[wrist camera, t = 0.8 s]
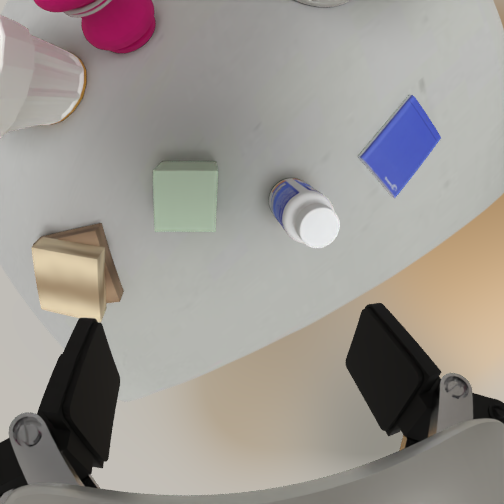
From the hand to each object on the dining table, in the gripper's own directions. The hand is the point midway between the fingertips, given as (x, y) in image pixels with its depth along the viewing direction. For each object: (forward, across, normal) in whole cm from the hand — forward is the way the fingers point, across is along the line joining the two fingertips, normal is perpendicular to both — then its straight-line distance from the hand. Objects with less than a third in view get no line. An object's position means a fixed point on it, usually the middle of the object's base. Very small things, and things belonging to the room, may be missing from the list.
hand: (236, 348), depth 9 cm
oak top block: (+23, +18, +9) cm, 31 cm away
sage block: (+25, +2, 0) cm, 25 cm away
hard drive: (+25, -25, -8) cm, 36 cm away
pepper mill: (+24, +10, -20) cm, 33 cm away
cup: (+25, +19, -14) cm, 34 cm away
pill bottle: (+25, -10, +1) cm, 27 cm away
